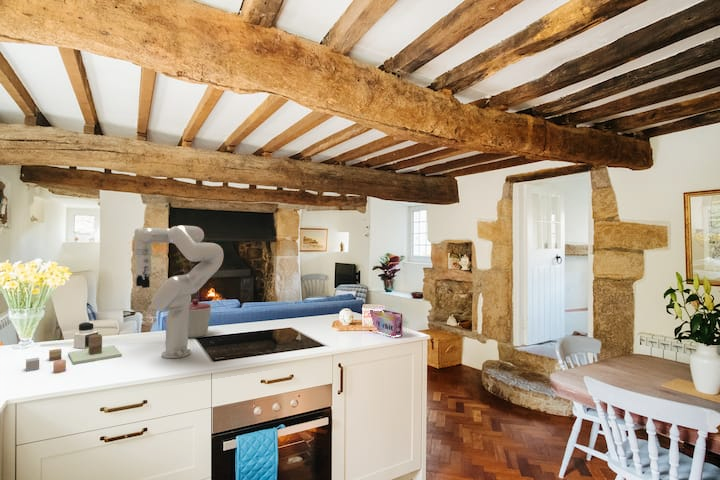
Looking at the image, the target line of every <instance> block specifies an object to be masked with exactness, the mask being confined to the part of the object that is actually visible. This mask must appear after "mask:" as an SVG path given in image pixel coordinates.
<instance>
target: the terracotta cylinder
mask: <svg viewBox="0 0 720 480" xmlns="http://www.w3.org/2000/svg"><path fill="white" fill-rule="evenodd" d="M52 370H53V371H52V373H55V374H58V373H59V374H60V373H64V372H66V370H67V360H66V359H61V360H55V361H53V369H52Z"/></svg>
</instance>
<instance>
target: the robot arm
mask: <svg viewBox="0 0 720 480" xmlns="http://www.w3.org/2000/svg"><path fill="white" fill-rule="evenodd" d="M204 237H205V233H204V231H203V229H202V228H201V227H199V226H195V225H181V224H180V225H177V226H176V225H175V226H171V228H169V227H168V228H166V227H165V228H164V227H144V228H143V227H141V228H139V227H138V228H135V229H134V251H133V252H134V253H133V254H134V256H135V257H136V258H135V274H136V277H135V278H136V279H135V283H136V284H135V285H136V286H135V287H141V288H142V289H147V288H150V281H151V280H150V279H151V278H150V277H151V275H152V272H153V271H152V257H151V256H152V250H153V249H152V247H153V245H152V244H156V243H157V244H171V243H172V244H174V245H175V246H176V248H177V249H178V250H179V251H180V252H181V254H182V256H183V257H185V259H187V260H188V261H190V262H199V263H198V264H196V265H194V267H193V268H192V269H191V270H190V271H189V272H188V273H185V274H182V275H181V274H179V275H174V276H171V277H169V278H167V279H166V280H165V281H164V282H163V283H162V285H160V287H159V288H158V289H157V290H156V291H155V293H154V294H153V296H152V299H151V307H152V309H154V310H155V311H157V312H160V313H161V312H167V311H168V312H167V314H166V317H165V318H166V319H165V320H166V321H165V349H164V351H163V352H161V357H162V358H164V359H179V358H184V357H187V356H189V355H191V353H192V350H191V349H190V348H188V343H189V340H188V339H189V338H188V315H189V307H190V303H192V295H194V294H195V293H197V292H198V291H199V290H200V289H201V288H202V287H203V286H204V285H205V284H206V283H207V281H208V280H209V279H210V278H211V277H212V276H213V275H215V273H217V271H218V270H219V269H220V267H221V266H222V264H223V261H224V250H223V248H222V247H221V245H219V244H217V243H215V242H203V240H204Z"/></svg>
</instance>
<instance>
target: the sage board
mask: <svg viewBox="0 0 720 480" xmlns="http://www.w3.org/2000/svg"><path fill="white" fill-rule="evenodd" d="M67 353H68V354H67V355H68V357H69V360H70V361H71V364H72V365H79V364H85V363H90V362H96V361H104V360H108V359H113V358H120V357H121V358H122V357H123V355H122V352H121V351H120V350H119V349H118V348H117V347H116V345H107V346H102V353H100V354H94V355H90V354H89V353H88V348H87V349H81V350H80V349H79V350H74V351H68V352H67Z"/></svg>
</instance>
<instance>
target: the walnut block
mask: <svg viewBox="0 0 720 480" xmlns="http://www.w3.org/2000/svg"><path fill="white" fill-rule="evenodd" d="M102 347H103V335H102V334H99V333H98V335H91V336H89V348H87V349H88V353H89V354H90V355H94V354H100V353H102Z"/></svg>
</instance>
